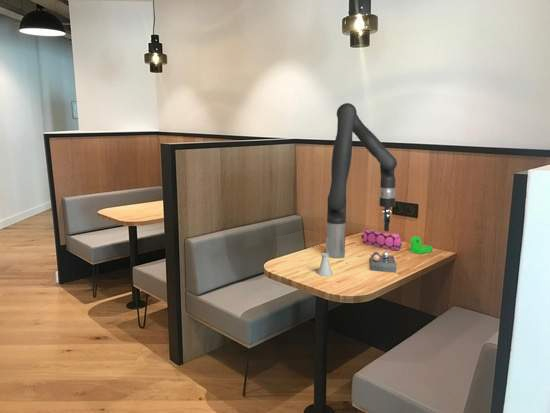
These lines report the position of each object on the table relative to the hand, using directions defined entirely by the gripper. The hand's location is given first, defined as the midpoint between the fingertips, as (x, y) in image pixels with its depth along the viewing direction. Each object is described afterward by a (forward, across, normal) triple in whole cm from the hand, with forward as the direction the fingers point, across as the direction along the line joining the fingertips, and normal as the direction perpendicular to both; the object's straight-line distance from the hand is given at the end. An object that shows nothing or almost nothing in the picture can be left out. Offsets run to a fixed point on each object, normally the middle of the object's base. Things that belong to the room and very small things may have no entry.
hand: (386, 231), depth 217 cm
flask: (+14, +32, -28) cm, 44 cm away
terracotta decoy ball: (+10, +14, -5) cm, 18 cm away
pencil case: (+15, -22, -1) cm, 27 cm away
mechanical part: (+15, -19, +20) cm, 32 cm away
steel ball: (+10, +7, 0) cm, 12 cm away
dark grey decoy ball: (+10, +9, -5) cm, 14 cm away
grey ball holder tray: (+14, +12, -2) cm, 19 cm away
